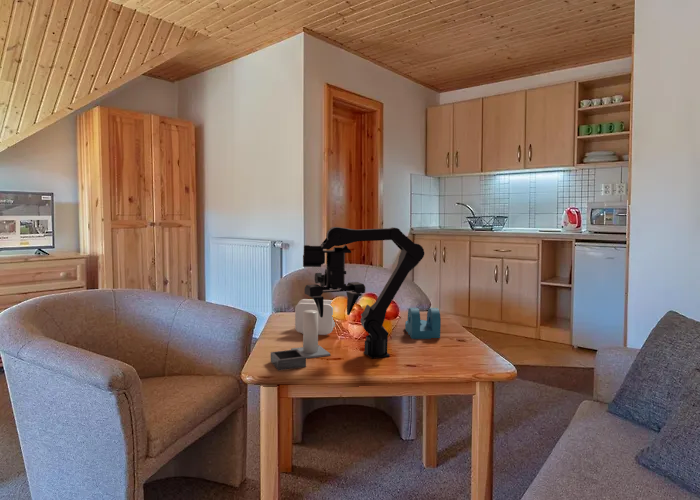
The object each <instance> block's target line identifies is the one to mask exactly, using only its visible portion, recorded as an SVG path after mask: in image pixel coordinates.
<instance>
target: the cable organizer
mask: <svg viewBox="0 0 700 500" xmlns="http://www.w3.org/2000/svg"><path fill="white" fill-rule="evenodd" d="M332 301H333V300H332V299H331V300H330V299H324V300H323V317H320V314H319V311H318V308H317V305H316V303H315V301H314V299H313V298H312V299H310V298H309V299H308V298H303V299H300V300H299V301H298V303H297V304H296V305H295V307H294V308H295V309H294V311H295V312H294V313H295V314H294V328H295V331H296V332H297V333H300V334H302V335H303V311H306V310H316V311H318V336H319V335H320V336H328V335H329V334H331V333H332V332H333V330H334V328H335V327H336V325H335V322H334V320H333V317H332V315H333V307H332V306H331V305H330V304H331V302H332Z"/></svg>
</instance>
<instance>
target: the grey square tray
mask: <svg viewBox="0 0 700 500" xmlns="http://www.w3.org/2000/svg"><path fill="white" fill-rule="evenodd" d="M270 363H271V364H272V366H274V367H275V369H277V371H278V372H279V371H287V370H294V369H299V368H306V367H307V359H306V357H305V356H304V355H303V354H302V353H301V352H300V351H299V350H297V349H294V350H291V349H289V350H288V349H286V350H278V351H271V352H270Z"/></svg>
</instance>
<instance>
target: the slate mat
mask: <svg viewBox="0 0 700 500" xmlns="http://www.w3.org/2000/svg"><path fill="white" fill-rule="evenodd" d="M294 349H297V350H299V351H300V352H301V353H302V354H303V355H304V356H305V357H306V360H307V359H314V358H320V357H321V358H322V357H329V356H331V352H329V351H328V350H326V349H325V348H323V347H322V346H321V345H320V344H318V352H316V353H305V352H303V346H301V347H300V346H299V347H294V348H290V350H294Z"/></svg>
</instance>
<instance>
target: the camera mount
mask: <svg viewBox="0 0 700 500" xmlns="http://www.w3.org/2000/svg"><path fill="white" fill-rule="evenodd" d="M407 310H408V311H407V320H406V321H405V322H404V323H405V324H404V325H405V326H404V328H405V329H404V331H405V332H406V333H407V332H408V333H407V335H408V336H409V335H410V336H409V337H410V338H411V339H412V340H426V339H427V340H432V339H431V338H440V339H441V329H442V328H441V325H442V324H441V323H442V322H441V321H442V320H441V312H440V309H439V308H438V307H429V308H428V309H427V312H426V313H427V314H426V319H425V320H424V319H421V313H420V309H419V308H418V307H409V308H408V309H407Z"/></svg>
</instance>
